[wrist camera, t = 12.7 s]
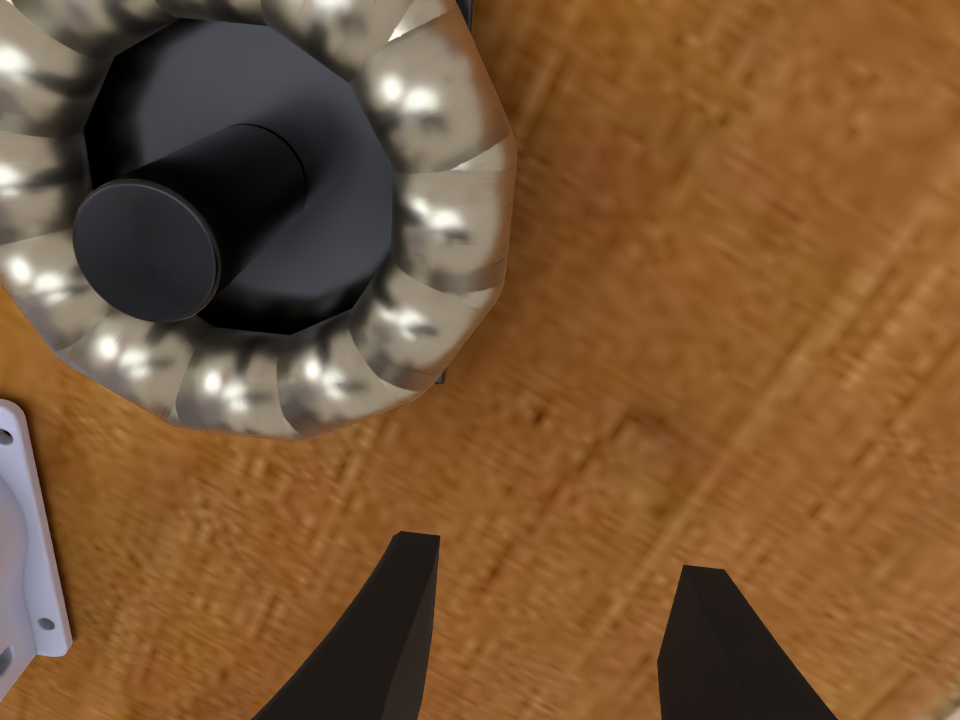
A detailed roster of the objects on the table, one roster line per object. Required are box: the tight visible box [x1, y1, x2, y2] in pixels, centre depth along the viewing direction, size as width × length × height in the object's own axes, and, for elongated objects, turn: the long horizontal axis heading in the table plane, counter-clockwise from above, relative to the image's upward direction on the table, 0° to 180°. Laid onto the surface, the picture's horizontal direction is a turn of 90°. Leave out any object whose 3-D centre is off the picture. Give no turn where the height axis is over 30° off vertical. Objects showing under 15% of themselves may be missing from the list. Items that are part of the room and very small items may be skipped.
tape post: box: [72, 0, 478, 384], centre depth 15 cm, size 9×9×6 cm
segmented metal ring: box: [0, 0, 518, 442], centre depth 15 cm, size 11×11×2 cm
